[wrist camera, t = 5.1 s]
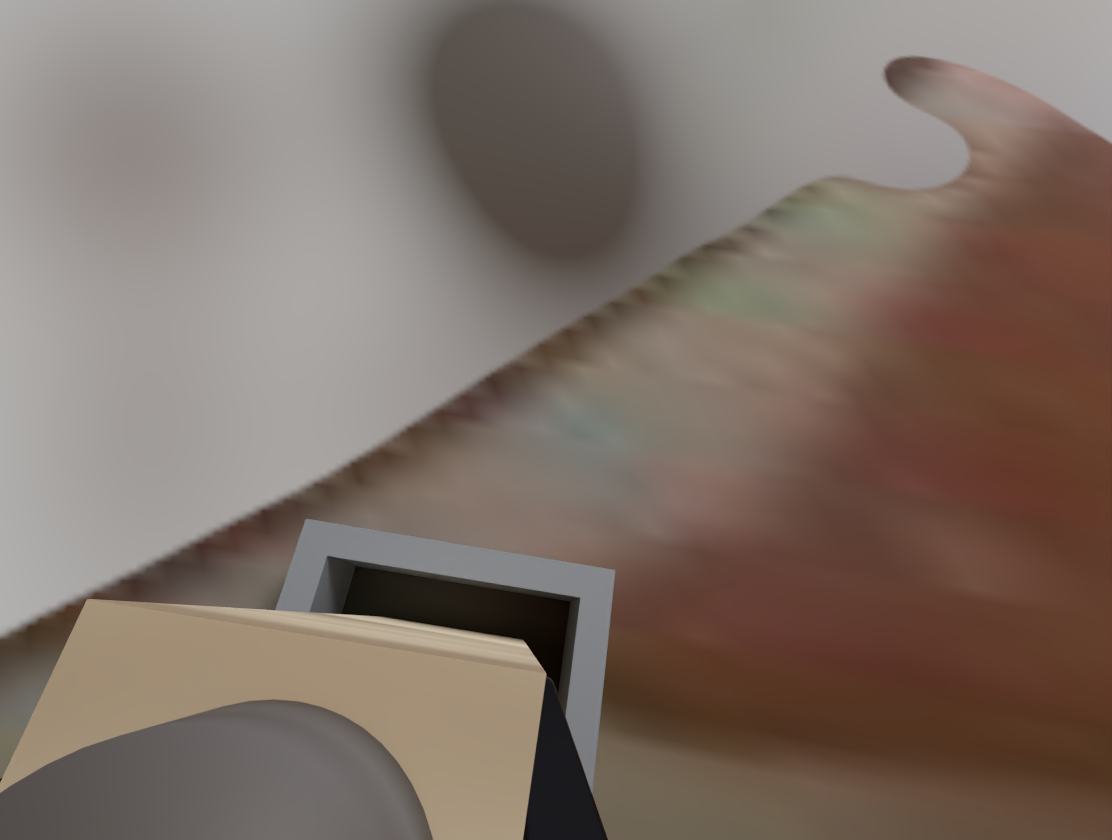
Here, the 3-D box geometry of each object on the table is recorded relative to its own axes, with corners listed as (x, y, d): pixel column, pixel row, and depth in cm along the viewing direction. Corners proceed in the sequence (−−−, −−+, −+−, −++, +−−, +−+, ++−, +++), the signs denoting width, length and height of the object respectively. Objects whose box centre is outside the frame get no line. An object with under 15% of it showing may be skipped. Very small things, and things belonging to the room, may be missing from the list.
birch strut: (495, 809, 13) (390, 1940, 2) (338, 785, 13) (-758, 1794, 2) (523, 639, 14) (557, 689, 3) (383, 616, 14) (-60, 591, 3)
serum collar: (561, 917, 12) (572, 984, 10) (233, 866, 12) (168, 923, 10) (599, 578, 15) (615, 569, 13) (337, 534, 15) (305, 518, 13)
